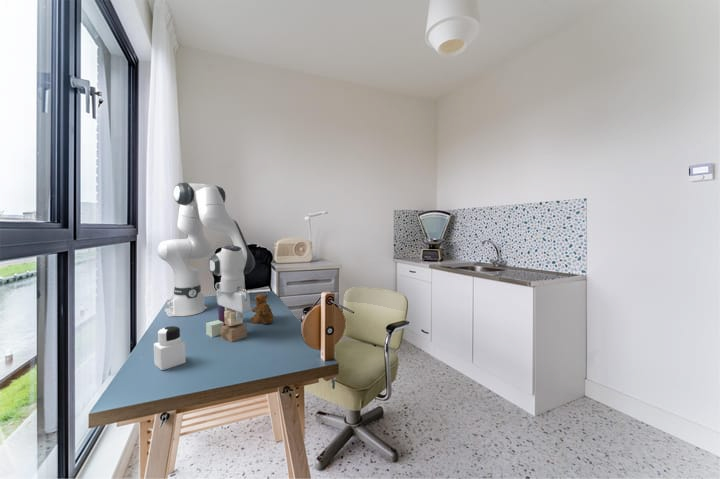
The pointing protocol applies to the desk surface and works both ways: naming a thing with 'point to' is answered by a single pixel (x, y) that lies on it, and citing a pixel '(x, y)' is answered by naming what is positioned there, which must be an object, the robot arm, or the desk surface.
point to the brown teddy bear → (262, 310)
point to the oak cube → (231, 318)
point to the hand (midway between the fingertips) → (233, 319)
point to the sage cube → (214, 328)
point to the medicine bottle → (169, 348)
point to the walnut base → (233, 332)
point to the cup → (221, 313)
